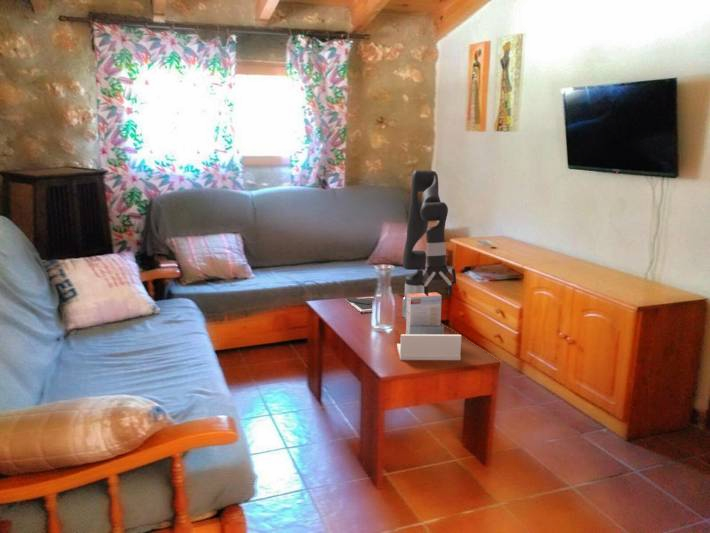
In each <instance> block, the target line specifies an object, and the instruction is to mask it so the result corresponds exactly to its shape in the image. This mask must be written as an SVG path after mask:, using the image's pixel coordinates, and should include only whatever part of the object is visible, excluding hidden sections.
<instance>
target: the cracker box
mask: <svg viewBox="0 0 710 533" xmlns="http://www.w3.org/2000/svg"><path fill="white" fill-rule="evenodd" d="M442 296H443V295H441V294H440V293H439V292H435V291H434V292H428V296H427V295H425V292H424V293H416V294H407V315H406V318H405V319H406V320H405V321H406V322H405V324H406V325H405V326H406V327H405V334H410V325H441V320H442V319H441V318H442V298H443V297H442Z"/></svg>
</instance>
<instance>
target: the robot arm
mask: <svg viewBox="0 0 710 533" xmlns="http://www.w3.org/2000/svg"><path fill="white" fill-rule="evenodd" d="M410 187H411V188H410V203H409V212H408V217H407V227H406V239H405V245H404V250H403V256H402V267H403V268H404V269H405V270H410V271H411V270H413V271H415V270H416V271H415V272H413V273H411V274H410V275H407V276H405V279H404V297H403V298H402V305H401V306H402V308H401V309H402V311H401V312H402V313H401V317H403V319H406V315H407V294H416V293H425V295H427V296H428V293H429V286H428V285H429V283H431V281H437V280H438V281H441V280H444V281H445V282H446V284H448V285H447V293H448V296H451V294H452V293H453V285H455V284H456V283H457V275H456V269H455V267H452V268H448V265H447V263H448V262H447V247H446V240H445V237H446V236H445V227H446V222H447V217H448V213H449V207H448V205H447V204H446V203H445V202H443V201H441V199H440V196H439V177H438V174H437V172H436V171H434V170H423V169H422V170H421V169H416V170H414V171H412V176H411V186H410ZM419 193H422V195H421V198H420V196H419ZM421 200H422V201H421ZM436 221H437V222H438V223H437V224H436V225H435V226H432V227H431V226H430V227H429V222H436ZM424 235H425V238H426V248H425V249H426V252H425V251H424V250H422V249H421V250H419V249H417V250H414V248H415V245H417V243H418V242H419V241H420V240H421V239H422V238H423V237H424ZM426 266H427V267H426ZM448 273H450V274H451V276H452V280H450V278H448V276H447V274H448ZM426 275H427V276H428V277H427V279H426V280H425V278H426V277H425V276H426Z"/></svg>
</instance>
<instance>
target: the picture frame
mask: <svg viewBox="0 0 710 533" xmlns="http://www.w3.org/2000/svg"><path fill="white" fill-rule="evenodd" d="M372 298H375V297H374V296H364V297H354V296H353V297H345V299H344V300H346V301H347V302H349V303H350V304H351V305H352V306H354V307H355V308H356V309H357V310H358V311H360V312H365V311H371V310H372V301H373V300H372ZM366 299H371V300H366Z"/></svg>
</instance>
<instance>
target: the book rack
mask: <svg viewBox="0 0 710 533" xmlns="http://www.w3.org/2000/svg"><path fill="white" fill-rule="evenodd" d="M396 348H397V352H398V356H399V360H400V361H461V351H462V350H461V348H462V335H461V334H444V335H441V334H406V333H405V334H404V333H403V334H400V343H396Z"/></svg>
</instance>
